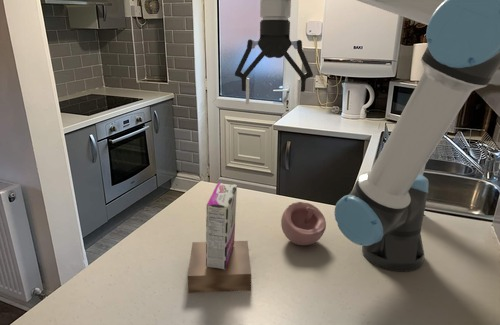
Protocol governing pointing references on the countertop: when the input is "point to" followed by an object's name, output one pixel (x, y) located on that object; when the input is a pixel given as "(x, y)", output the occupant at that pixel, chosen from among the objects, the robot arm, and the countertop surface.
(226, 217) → the candy bar box
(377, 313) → the countertop surface
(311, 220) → the mortar and pestle
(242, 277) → the walnut block
